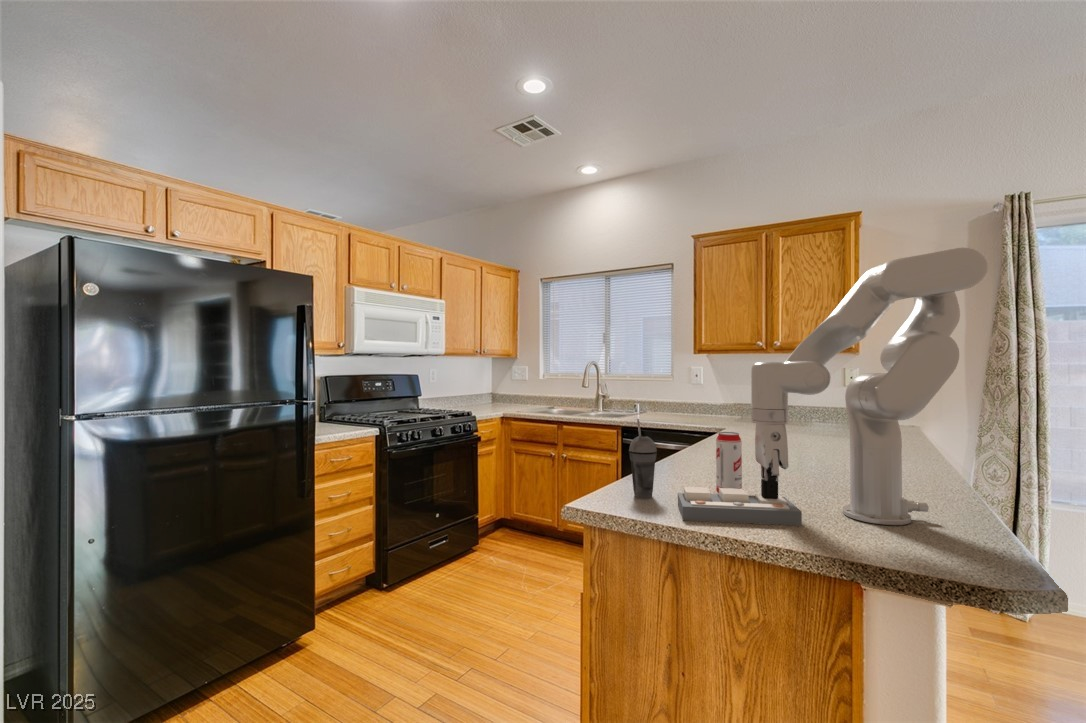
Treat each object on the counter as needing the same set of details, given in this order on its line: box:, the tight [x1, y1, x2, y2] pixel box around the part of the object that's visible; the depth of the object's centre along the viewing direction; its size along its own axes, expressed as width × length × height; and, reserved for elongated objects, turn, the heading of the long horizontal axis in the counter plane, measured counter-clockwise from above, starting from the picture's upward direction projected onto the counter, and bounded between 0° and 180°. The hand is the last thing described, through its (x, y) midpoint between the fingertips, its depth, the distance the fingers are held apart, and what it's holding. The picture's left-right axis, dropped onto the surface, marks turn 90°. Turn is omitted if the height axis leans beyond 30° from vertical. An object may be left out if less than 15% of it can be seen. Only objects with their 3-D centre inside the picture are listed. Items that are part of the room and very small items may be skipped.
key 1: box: [683, 486, 712, 502], centre depth 116 cm, size 5×5×3 cm
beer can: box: [715, 431, 743, 494], centre depth 130 cm, size 6×6×16 cm
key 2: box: [754, 493, 787, 505], centre depth 113 cm, size 5×5×3 cm
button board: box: [677, 492, 803, 527], centre depth 112 cm, size 24×12×4 cm, turn 80°
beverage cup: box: [628, 418, 658, 500], centre depth 129 cm, size 7×7×20 cm
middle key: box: [718, 488, 750, 503], centre depth 114 cm, size 5×5×3 cm
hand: (769, 497), depth 113 cm, fingers closed
